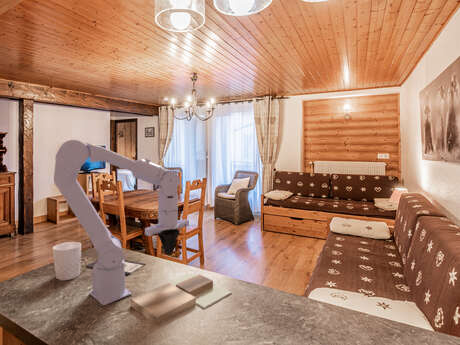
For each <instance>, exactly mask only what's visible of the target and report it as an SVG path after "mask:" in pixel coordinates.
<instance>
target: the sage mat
mask: <svg viewBox="0 0 460 345" xmlns="http://www.w3.org/2000/svg"><path fill="white" fill-rule="evenodd" d="M195 276H197V275H196V274H193V273H191V272H190V273H188V274H185V275H183V276H181V277H179V278H175V279H173V280H171V281H169V282H166V283H163V285H165V284H167V283H170V284H172V285H174V286H176V284H178V283H181V282H183V281H185V280H188V279H190V278H192V277H195ZM230 295H232V291H230V290H228V289H226V288H223V287H222V286H219V285H217V284H215V283H213V287H212V288H210V289H208V290H206V291H204V292H202V293H200V294H198V295H196V296H194V297H196V305H197V306H198V307H199V308H202V309H206V308H208V307H210V306H212V305H214V304H215V303H217V302H219V301H220V300H221V301H222V300H223V299H225V298H226V297H228V296H230Z"/></svg>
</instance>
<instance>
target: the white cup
mask: <svg viewBox="0 0 460 345" xmlns="http://www.w3.org/2000/svg"><path fill="white" fill-rule="evenodd" d="M52 256H53V266H54V271H55V279H56V280H57V279H59V280H58V281H68V280H69V281H70V280H73V279H75V278H77V277H79V276H80V274H81V264H82V262H81V261H82V243H81V242H79V241H68V242H62V243H58V244H55V245H53V246H52Z"/></svg>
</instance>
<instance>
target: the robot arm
mask: <svg viewBox="0 0 460 345" xmlns="http://www.w3.org/2000/svg"><path fill="white" fill-rule="evenodd" d="M59 147H60V148H59V149H58V151H57V152H56V154H55V158H54V159H55V165H54V173H53V182H54V185H55V186H56V188H57V189H58V190H59V191H58V192H60V194H61V195H62V197H63V198H64V200H65V202H66V204H68V206H69V208H70V209H71V211H72V213H73V214H74V215H75V217H76V219H77V220H78V222H79V223H80V224H81V226H82V228H83V229H84V231H85V233H86V234H87V235H88V237H89V239H90V240H91V243H92V245H93V247H94V250H95V252H96V253H97V260H98V262H97V263H96V264H95V266H94V267H93V269H92V271H91V276H92V278H91V280H92V290H90V291H88V293H89V295H90V296H92V297H93V298H94V299H95V300H96V301H98V302H99V303H100V304H101V305H102V306H106V305H108V304H111V303H114V302H116V301H118V300H121V299H123V298H126V297H128V296H131V295H132V292H131V291H129V289H127V288H126V275H125V261H124V260H125V258H124V257H125V252H124V250H123V249H122V243H121V240H120V239H119V238H118V237H116V236H114V235H113V234H112V232H111V231H110V230H109V229H108V228H107V226H106V224H105V223H104V221H103V220H102V217H100V215H99V214H98V212H97V210H96V208H95V207H94V205H93V204H92V202H91V200H90V199H89V197H88V195H87V194H86V192H85V190H84V189H83V188H82V186H81V183H79V181H78V179H77V178H78V177H79V173H80V171H81V167H82V166H83V165H84V164H85V162H86V161H87V160H88V159H89V163H93V162H94V163H95V162H104V163H107V164H109V165H110V164H111V165H113V166H114V167H115V166H116V167H118V168H121V169H124V170H127V171H130V172H131V174H132V176H133V178H135V179H137V180H141V181H143V182H145V183H147V184H151V185H154V186H155V185H156V186H158V194H157V196H158V197H157V210H158V211H157V212H158V215H157V218H158V220H157V221H158V223H156V224H154V225H151V226H148V227H145V228H144V235H145V236H148V237H151V236H153V235H157V237H158V238H159V240H160V242H161V244H162V245H161V246H162V248H163V251H164V252H163V253H164V254H165V255H168V256H170V255H172V254H173V252H174V247H175V244H176V241H177V239H178V238H179V236H180V233H181V232H180V230H179V229H181V228H187V227H189V226H190V220H189V219H180V220H179V219H178V218H179V217H178V216H179V213H178V212H179V211H178V210H179V206H178V205H179V202H178V200H179V199H178V198H179V197H178V196H179V195H178V188H179V186H180V184H181V179H180V176H179V175H178V174H177V172H176V171H174V170H171V169H169V168H167V166H165V165H161V166H160V165H159V164H156V163H154V162H151V159H149V158H145V159H143V158H140V159H137V160H133V159H131V158H129V157H128V156H127V157H126V156H124V155H122V154H119V153H117V152H114V151H113V150H111V149H110V150H109V149H107V148H105V147H103V146H100V145H99V146H98V145H95V144H91V143H87V142H86V144H85V143H84V142H82V141H80V140H78V139H77V140H76V139H70V140H67V141H65V142H63V143H62V144H61V146H59Z"/></svg>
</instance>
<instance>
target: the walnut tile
mask: <svg viewBox="0 0 460 345" xmlns="http://www.w3.org/2000/svg"><path fill="white" fill-rule="evenodd" d="M213 284H214V280H212V279H211V278H208V277H207V276H203V275H201V274H197V275H196V276H195V277H192V278H190V279H188V280H185V281H183V282H181V283H178V284H176V287H178V288H180V289H181V290H183V291H185V292H187V293H189V294H190V295H192V296H196V295H198V294H200V293H202V292H204V291H206V290H208V289H210V288H212V287H213Z"/></svg>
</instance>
